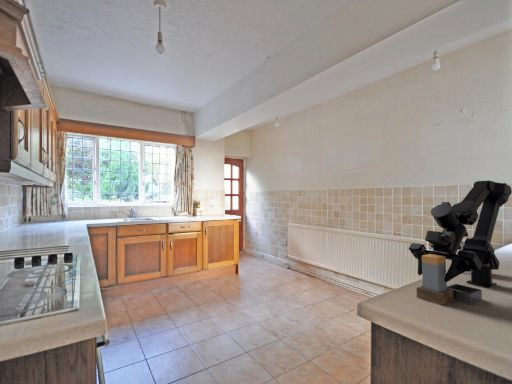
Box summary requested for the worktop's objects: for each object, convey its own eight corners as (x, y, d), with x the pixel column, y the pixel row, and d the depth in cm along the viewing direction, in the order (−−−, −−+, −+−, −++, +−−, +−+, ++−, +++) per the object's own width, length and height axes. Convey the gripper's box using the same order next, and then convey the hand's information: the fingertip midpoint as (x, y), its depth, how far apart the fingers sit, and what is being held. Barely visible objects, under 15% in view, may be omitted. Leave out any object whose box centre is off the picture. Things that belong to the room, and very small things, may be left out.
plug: (431, 295, 85) (430, 253, 85) (447, 299, 81) (445, 256, 81) (423, 297, 83) (421, 255, 83) (438, 302, 79) (437, 258, 79)
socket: (456, 292, 86) (455, 283, 86) (482, 299, 80) (481, 289, 80) (444, 296, 83) (443, 287, 83) (470, 304, 77) (470, 294, 77)
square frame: (429, 293, 86) (429, 283, 86) (453, 300, 80) (453, 290, 80) (416, 297, 83) (416, 287, 83) (440, 304, 77) (440, 294, 77)
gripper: (411, 219, 92) (390, 255, 87) (475, 223, 76) (454, 268, 70) (425, 240, 96) (406, 276, 90) (490, 248, 79) (471, 293, 74)
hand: (431, 277), depth 81 cm, fingers open, 7 cm apart
